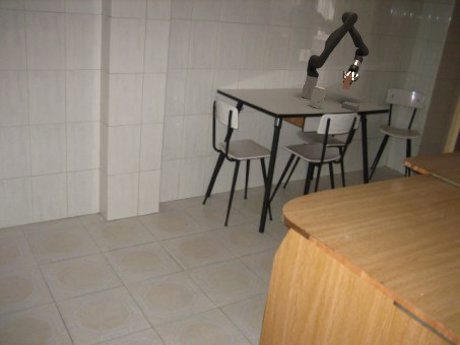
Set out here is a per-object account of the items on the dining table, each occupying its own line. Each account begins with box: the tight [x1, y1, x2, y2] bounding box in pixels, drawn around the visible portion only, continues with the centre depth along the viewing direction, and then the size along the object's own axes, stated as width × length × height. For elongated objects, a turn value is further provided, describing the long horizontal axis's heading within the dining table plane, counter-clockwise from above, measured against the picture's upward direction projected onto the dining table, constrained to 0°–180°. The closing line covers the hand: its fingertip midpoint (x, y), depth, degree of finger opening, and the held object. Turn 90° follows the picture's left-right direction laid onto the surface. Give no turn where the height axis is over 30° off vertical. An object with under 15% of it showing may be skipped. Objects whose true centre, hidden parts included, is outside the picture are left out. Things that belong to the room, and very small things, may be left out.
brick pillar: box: [342, 74, 352, 90], centre depth 368 cm, size 5×5×10 cm
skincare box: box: [308, 85, 328, 109], centre depth 343 cm, size 8×6×15 cm
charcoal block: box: [341, 101, 361, 112], centre depth 361 cm, size 11×11×4 cm
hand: (346, 83), depth 367 cm, fingers closed on brick pillar, 4 cm apart
